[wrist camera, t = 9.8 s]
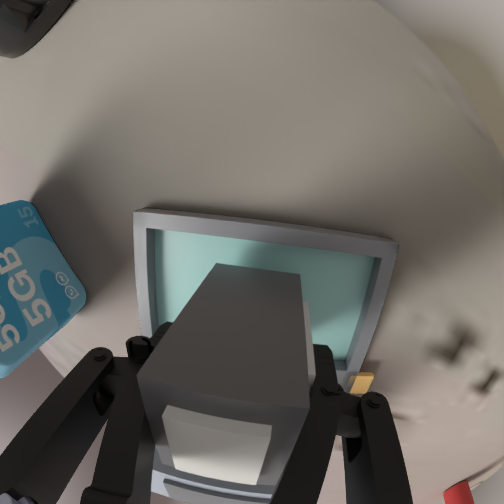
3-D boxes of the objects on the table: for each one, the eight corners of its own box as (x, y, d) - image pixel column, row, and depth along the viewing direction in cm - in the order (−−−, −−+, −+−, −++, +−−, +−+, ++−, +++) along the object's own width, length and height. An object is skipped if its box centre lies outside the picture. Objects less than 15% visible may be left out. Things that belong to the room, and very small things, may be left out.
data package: (93, 298, 21) (2, 374, 10) (74, 318, 22) (-4, 386, 11) (30, 196, 19) (-69, 226, 8) (16, 224, 20) (-69, 259, 9)
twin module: (178, 375, 22) (132, 467, 12) (313, 396, 21) (316, 500, 11) (183, 414, 24) (149, 494, 14) (299, 433, 23) (295, 520, 13)
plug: (216, 262, 16) (129, 385, 6) (299, 274, 16) (310, 421, 6) (212, 343, 18) (158, 471, 8) (284, 354, 18) (274, 494, 8)
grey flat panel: (144, 207, 18) (133, 211, 17) (409, 241, 16) (418, 247, 15) (164, 419, 25) (159, 429, 24) (329, 444, 23) (330, 455, 22)
